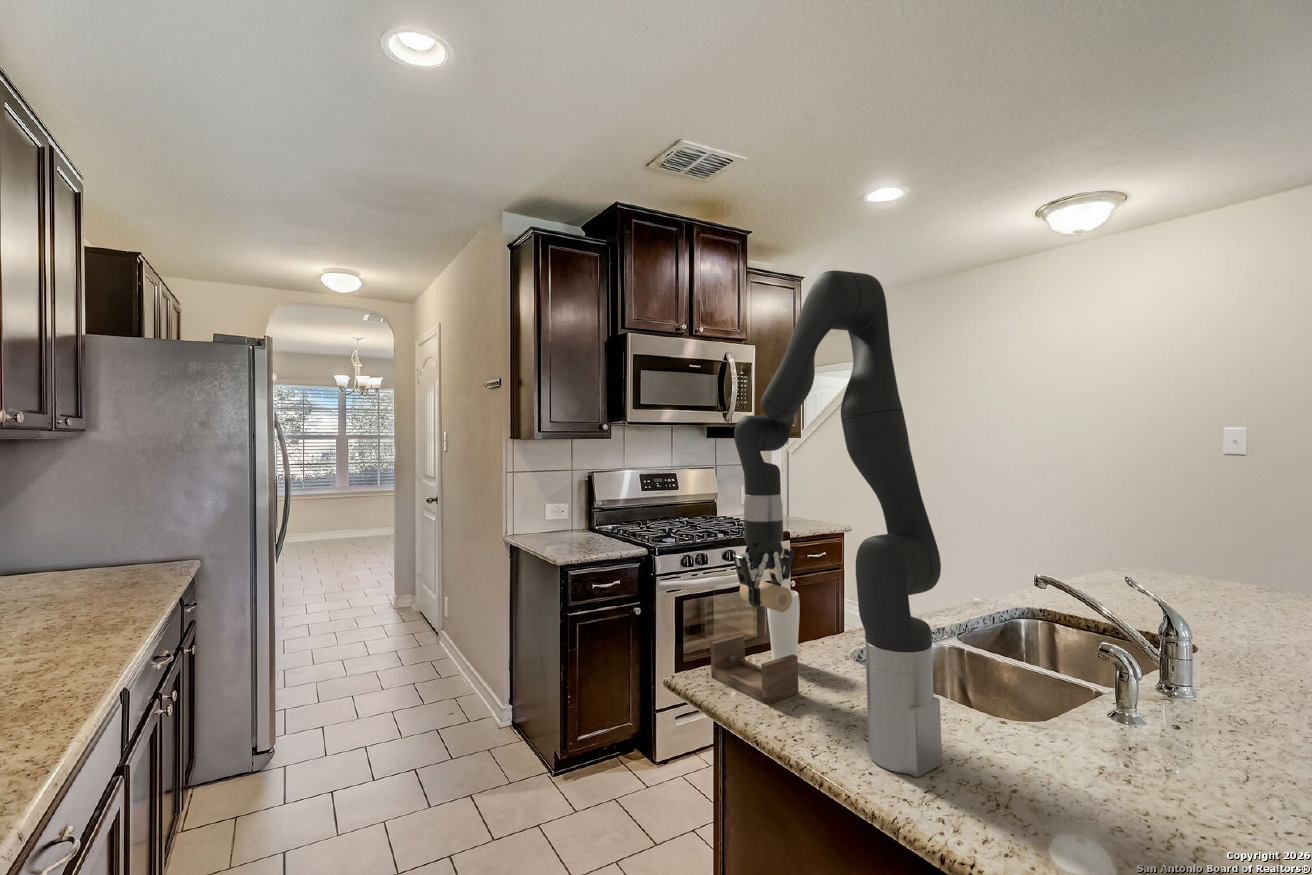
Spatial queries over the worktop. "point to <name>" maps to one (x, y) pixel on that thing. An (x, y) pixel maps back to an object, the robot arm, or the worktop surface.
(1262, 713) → the worktop surface
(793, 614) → the drinking glass
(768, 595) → the roll
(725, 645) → the holder
